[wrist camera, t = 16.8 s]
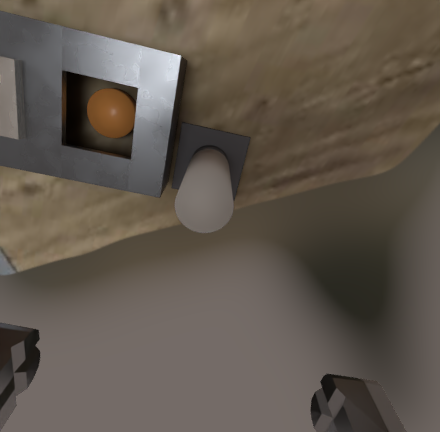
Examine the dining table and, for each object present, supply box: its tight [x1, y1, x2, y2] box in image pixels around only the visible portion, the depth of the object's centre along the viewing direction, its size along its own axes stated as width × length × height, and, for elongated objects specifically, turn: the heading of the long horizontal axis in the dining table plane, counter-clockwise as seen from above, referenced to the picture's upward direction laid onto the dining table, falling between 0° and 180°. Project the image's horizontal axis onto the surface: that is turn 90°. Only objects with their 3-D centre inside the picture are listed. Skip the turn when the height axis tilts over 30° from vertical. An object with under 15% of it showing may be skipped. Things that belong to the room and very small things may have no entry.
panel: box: [0, 11, 187, 198], centre depth 26 cm, size 18×12×6 cm, turn 78°
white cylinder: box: [175, 145, 234, 233], centre depth 25 cm, size 4×4×12 cm
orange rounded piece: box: [87, 88, 136, 138], centre depth 28 cm, size 4×4×2 cm
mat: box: [172, 122, 250, 201], centre depth 31 cm, size 7×7×1 cm
